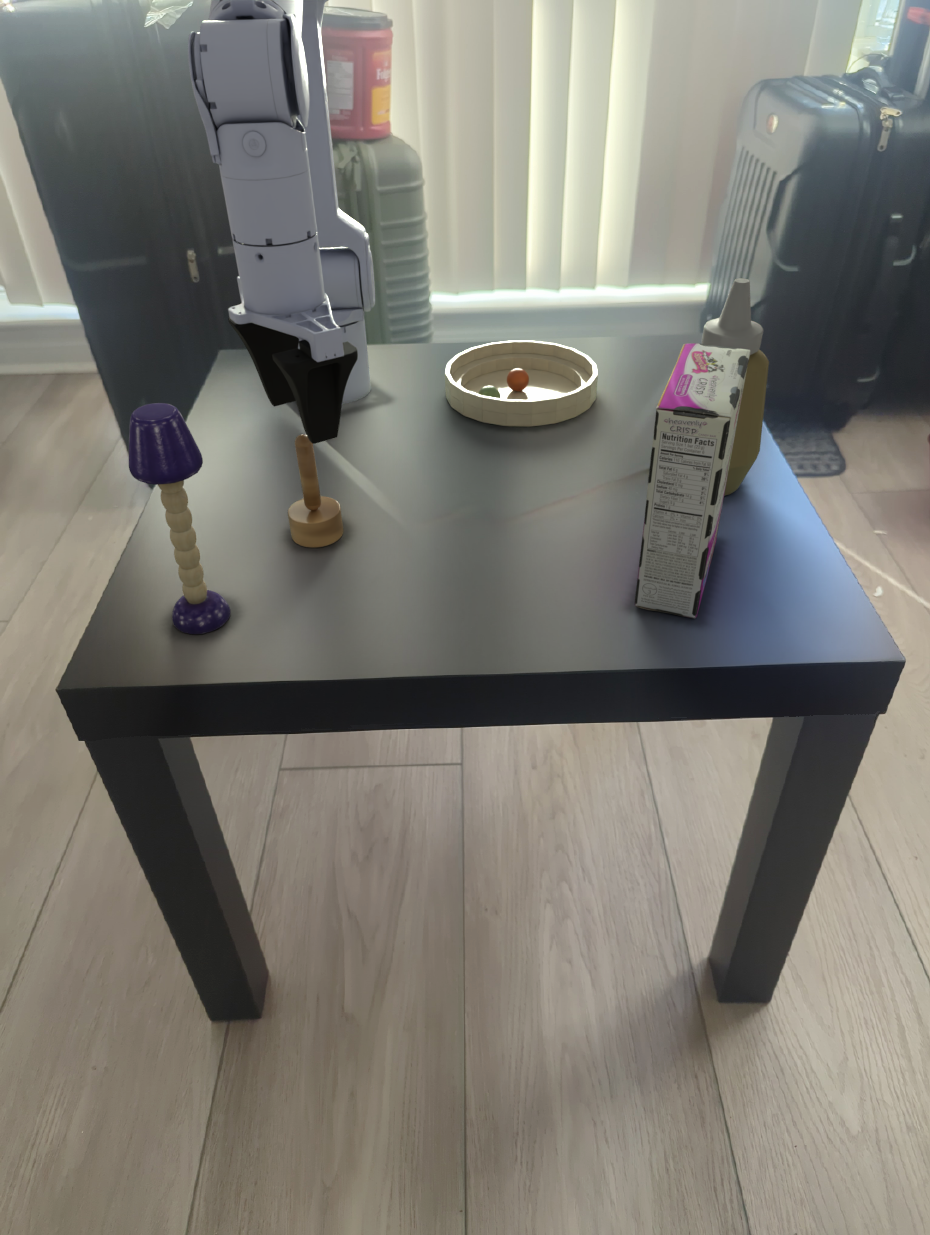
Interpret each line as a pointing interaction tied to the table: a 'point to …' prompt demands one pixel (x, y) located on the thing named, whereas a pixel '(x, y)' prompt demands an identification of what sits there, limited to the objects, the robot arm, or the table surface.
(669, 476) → the candy bar box
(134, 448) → the toy lamp
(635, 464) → the table surface
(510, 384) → the orange bead
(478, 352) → the bowl
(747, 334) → the squeeze bottle
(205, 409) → the table surface
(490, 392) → the green bead
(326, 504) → the wooden knob stamp
